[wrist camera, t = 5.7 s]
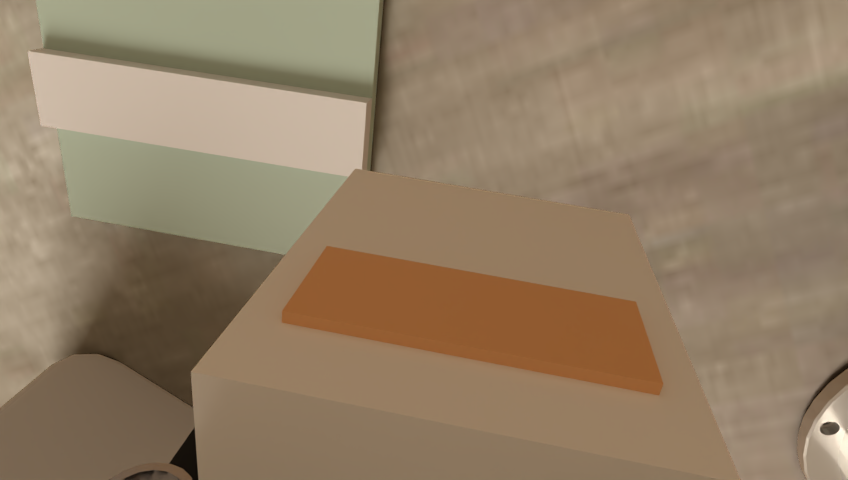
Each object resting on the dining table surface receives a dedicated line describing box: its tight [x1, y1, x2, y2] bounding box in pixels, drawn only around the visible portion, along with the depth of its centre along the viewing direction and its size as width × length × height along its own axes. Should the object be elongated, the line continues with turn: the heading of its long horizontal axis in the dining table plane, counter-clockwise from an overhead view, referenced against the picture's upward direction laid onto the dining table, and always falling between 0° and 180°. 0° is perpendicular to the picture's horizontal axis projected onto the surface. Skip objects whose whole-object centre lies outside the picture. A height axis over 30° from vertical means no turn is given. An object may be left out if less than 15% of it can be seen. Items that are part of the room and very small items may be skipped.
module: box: [191, 168, 741, 480], centre depth 10 cm, size 5×8×6 cm, turn 173°
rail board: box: [28, 0, 384, 255], centre depth 28 cm, size 16×14×2 cm
